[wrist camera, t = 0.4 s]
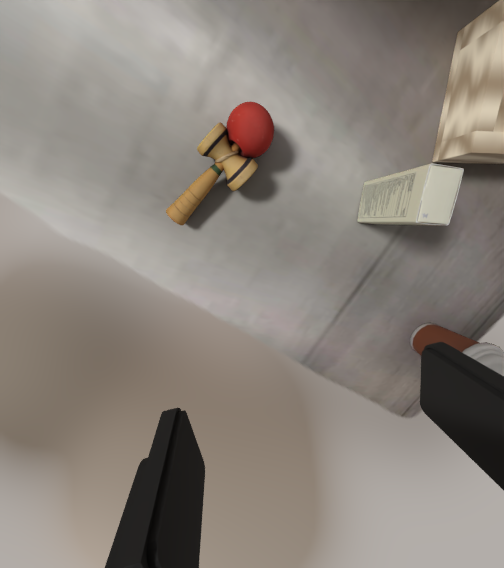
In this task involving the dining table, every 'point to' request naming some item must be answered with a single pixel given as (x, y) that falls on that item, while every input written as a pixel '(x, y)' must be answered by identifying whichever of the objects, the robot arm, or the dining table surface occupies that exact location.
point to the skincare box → (411, 196)
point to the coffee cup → (459, 345)
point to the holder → (475, 94)
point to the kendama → (228, 155)
